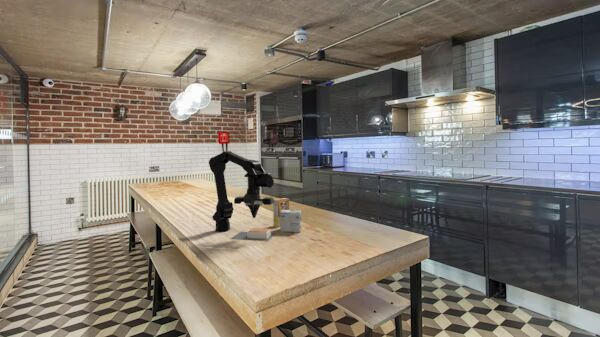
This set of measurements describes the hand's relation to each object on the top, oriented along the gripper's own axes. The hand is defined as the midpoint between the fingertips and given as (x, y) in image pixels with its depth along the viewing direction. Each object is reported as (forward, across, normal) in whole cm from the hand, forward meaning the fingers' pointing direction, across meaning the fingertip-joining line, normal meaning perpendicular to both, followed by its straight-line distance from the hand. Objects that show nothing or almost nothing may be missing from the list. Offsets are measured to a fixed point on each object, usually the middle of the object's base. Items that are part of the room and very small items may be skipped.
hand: (254, 217), depth 161 cm
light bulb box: (+10, +15, +15) cm, 23 cm away
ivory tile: (+8, -2, 0) cm, 8 cm away
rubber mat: (+10, 0, 0) cm, 10 cm away
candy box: (+10, +7, +24) cm, 27 cm away
